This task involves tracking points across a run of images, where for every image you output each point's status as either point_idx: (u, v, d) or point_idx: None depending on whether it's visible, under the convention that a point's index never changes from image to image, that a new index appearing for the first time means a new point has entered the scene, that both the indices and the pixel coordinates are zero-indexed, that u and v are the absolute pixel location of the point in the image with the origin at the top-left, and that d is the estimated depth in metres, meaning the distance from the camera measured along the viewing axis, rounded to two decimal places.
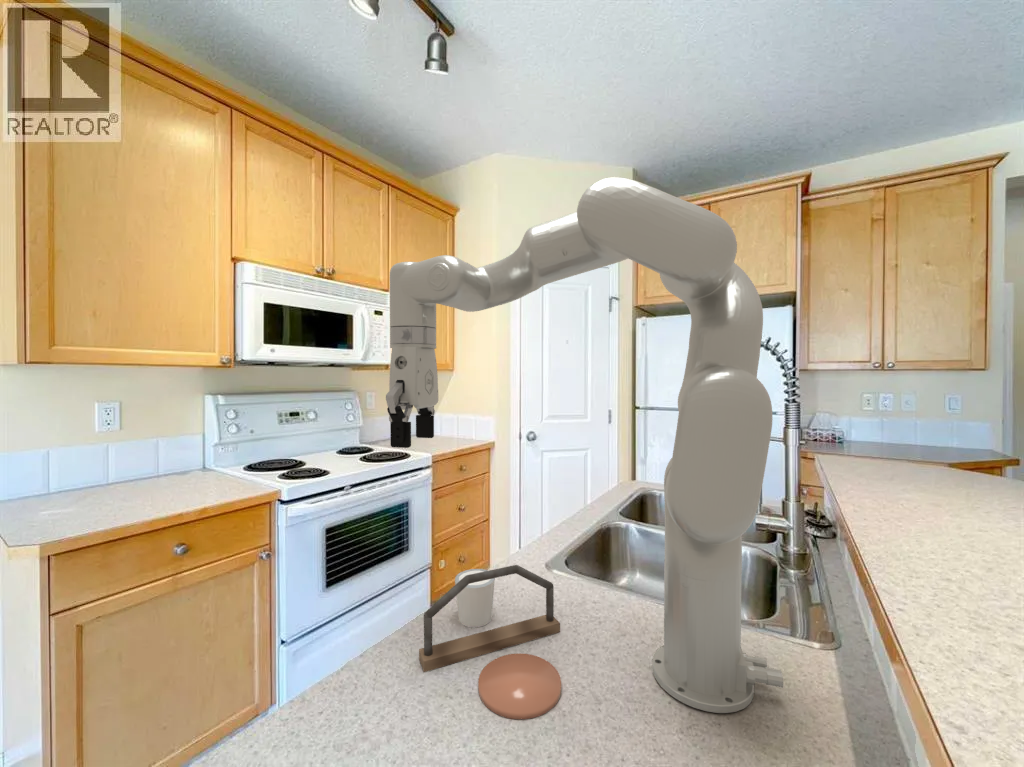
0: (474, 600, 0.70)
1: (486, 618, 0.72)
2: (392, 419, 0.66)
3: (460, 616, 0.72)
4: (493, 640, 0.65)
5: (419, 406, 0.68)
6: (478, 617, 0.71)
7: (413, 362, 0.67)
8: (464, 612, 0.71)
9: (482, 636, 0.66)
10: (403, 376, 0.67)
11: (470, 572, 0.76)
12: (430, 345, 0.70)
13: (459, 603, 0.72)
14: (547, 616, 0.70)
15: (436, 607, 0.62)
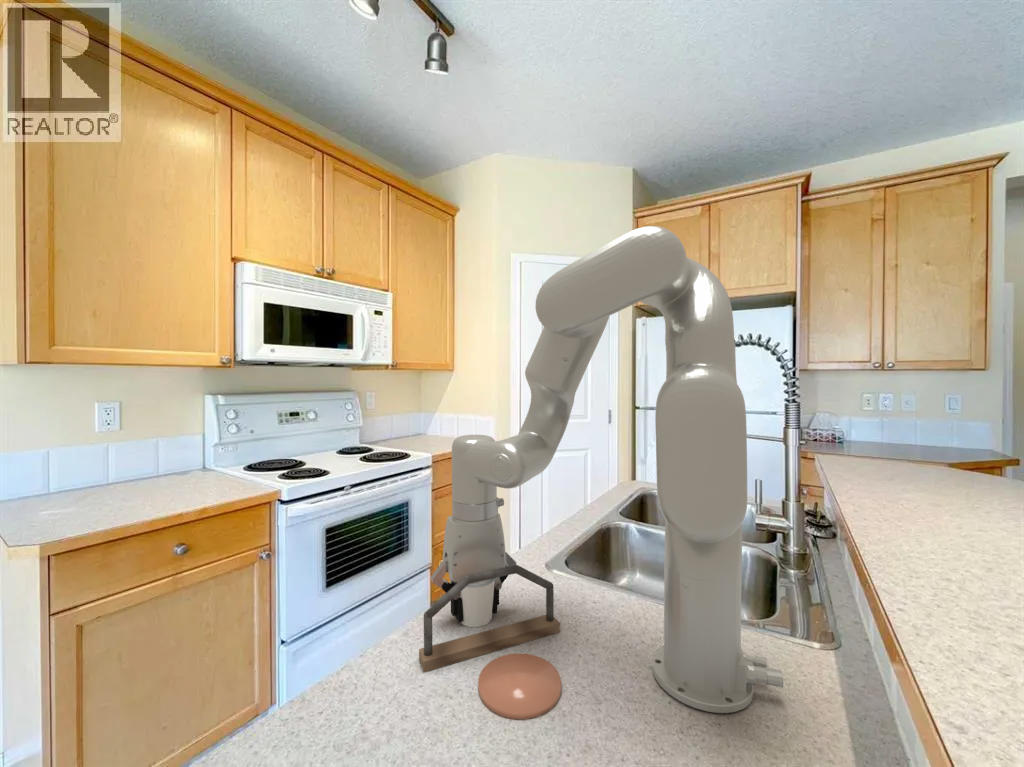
0: (474, 600, 0.70)
1: (486, 618, 0.72)
2: None
3: None
4: (493, 640, 0.65)
5: None
6: (478, 617, 0.71)
7: None
8: (464, 612, 0.71)
9: (482, 636, 0.66)
10: None
11: None
12: None
13: None
14: (547, 616, 0.70)
15: (436, 607, 0.62)
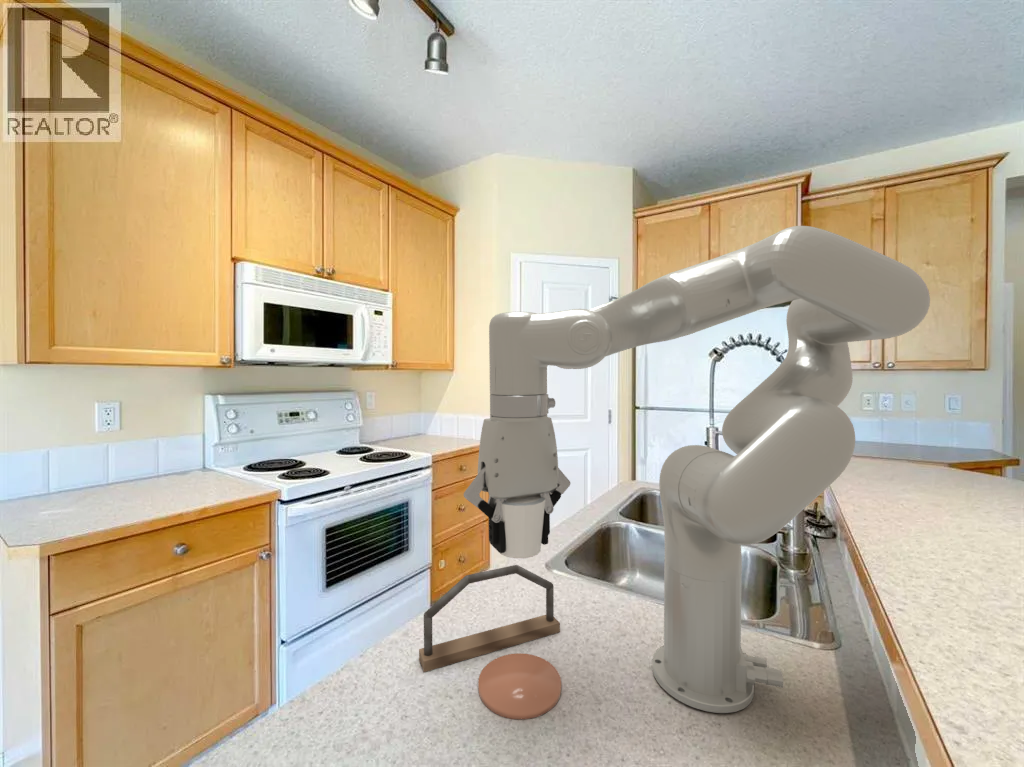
0: (521, 522, 0.54)
1: (535, 547, 0.55)
2: None
3: None
4: (493, 640, 0.65)
5: None
6: (525, 545, 0.54)
7: None
8: (506, 539, 0.54)
9: (482, 636, 0.66)
10: None
11: None
12: None
13: None
14: (547, 616, 0.70)
15: (436, 607, 0.62)
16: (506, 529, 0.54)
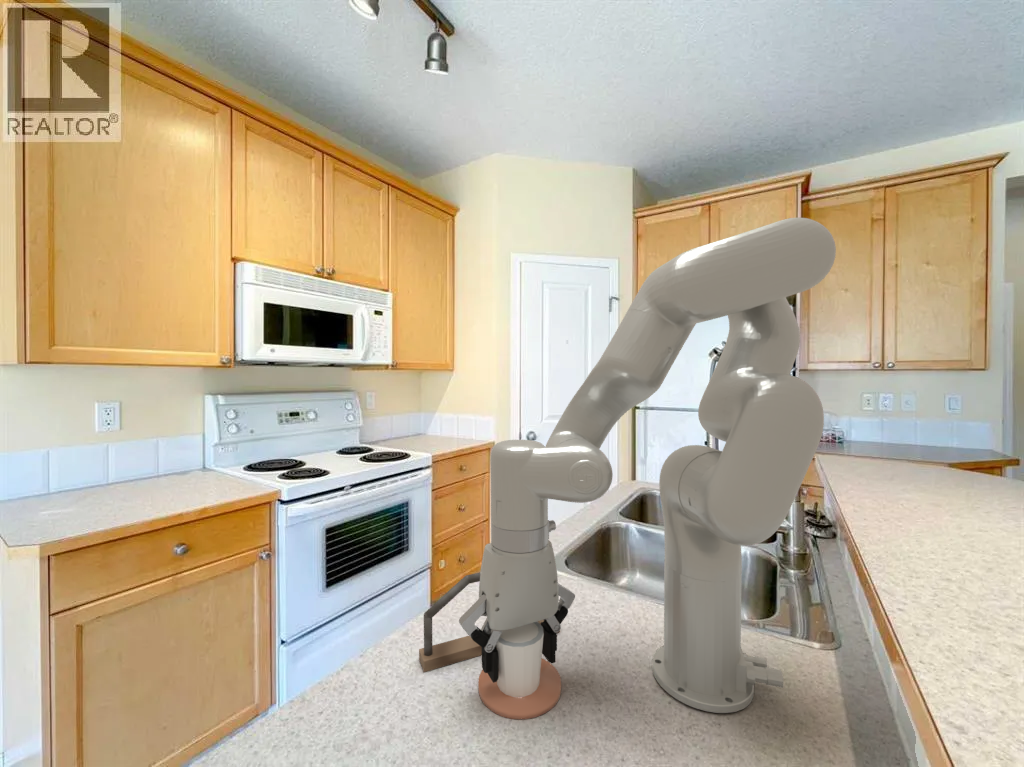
0: (519, 662, 0.54)
1: (534, 684, 0.55)
2: None
3: (500, 682, 0.56)
4: None
5: None
6: (524, 684, 0.54)
7: None
8: (505, 677, 0.55)
9: None
10: None
11: None
12: None
13: (499, 665, 0.55)
14: None
15: (436, 607, 0.62)
16: (505, 668, 0.55)
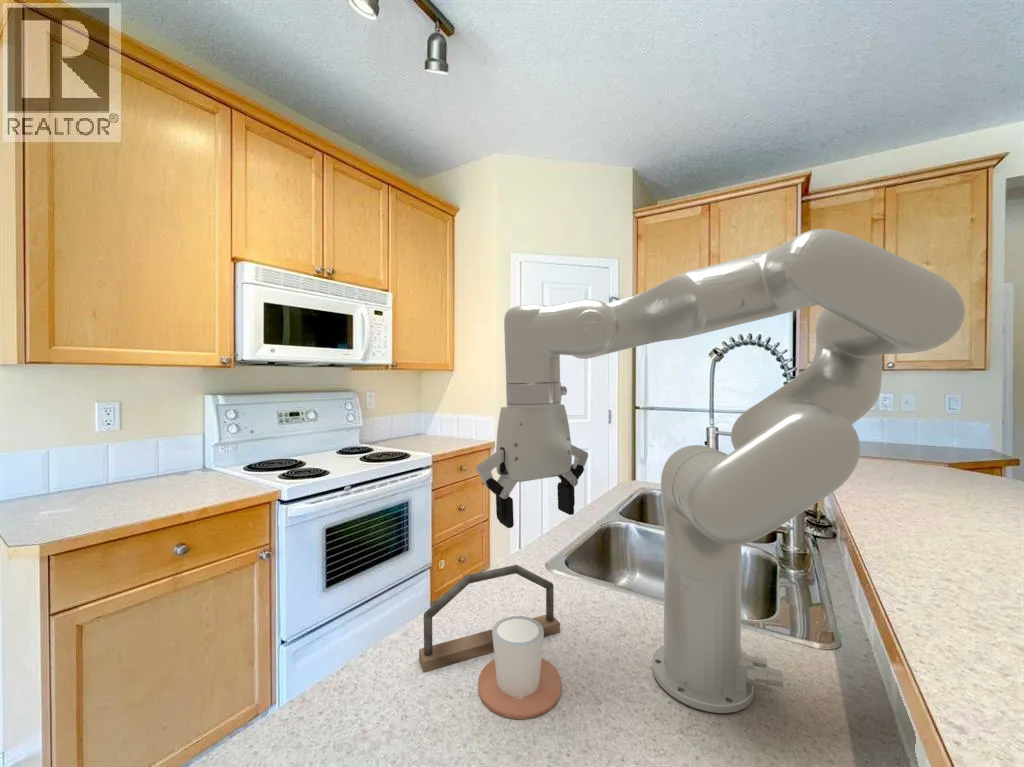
0: (520, 662, 0.54)
1: (534, 684, 0.55)
2: None
3: (500, 681, 0.56)
4: None
5: None
6: (524, 684, 0.54)
7: None
8: (505, 677, 0.55)
9: (482, 636, 0.66)
10: None
11: (510, 621, 0.59)
12: None
13: (499, 665, 0.55)
14: (547, 616, 0.70)
15: (436, 607, 0.62)
16: (505, 668, 0.55)
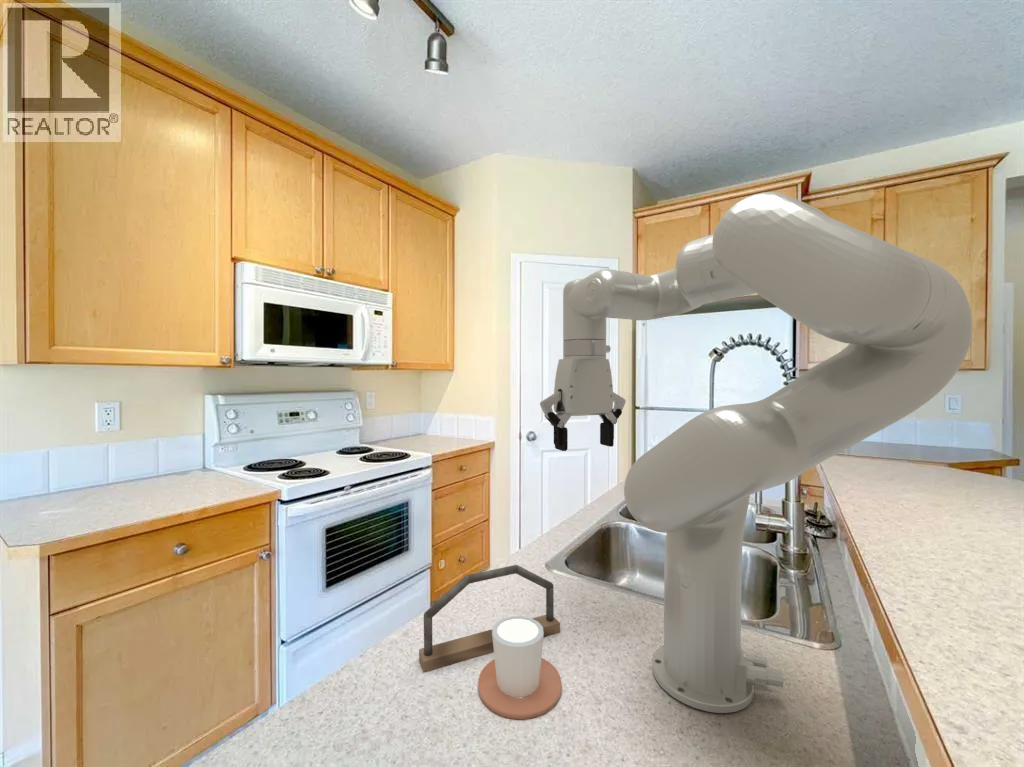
0: (519, 662, 0.54)
1: (534, 684, 0.55)
2: (615, 421, 0.79)
3: (500, 682, 0.56)
4: None
5: None
6: (524, 684, 0.54)
7: None
8: (505, 677, 0.55)
9: (482, 636, 0.66)
10: None
11: (510, 621, 0.59)
12: None
13: (499, 665, 0.55)
14: (547, 616, 0.70)
15: (436, 607, 0.62)
16: (505, 668, 0.55)
